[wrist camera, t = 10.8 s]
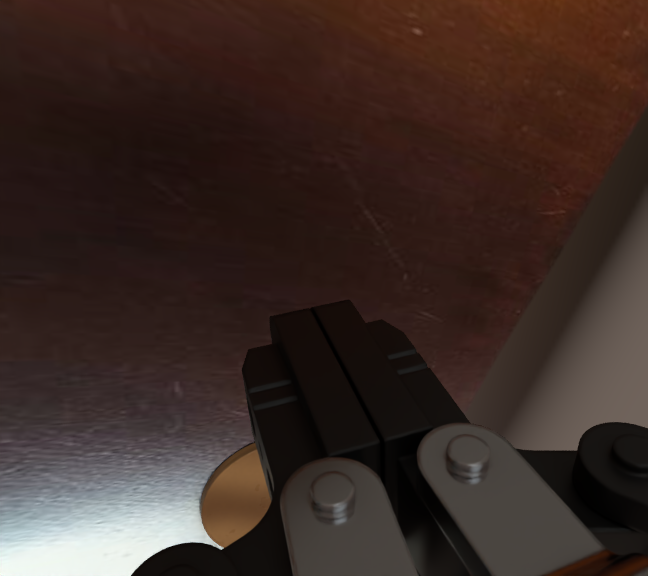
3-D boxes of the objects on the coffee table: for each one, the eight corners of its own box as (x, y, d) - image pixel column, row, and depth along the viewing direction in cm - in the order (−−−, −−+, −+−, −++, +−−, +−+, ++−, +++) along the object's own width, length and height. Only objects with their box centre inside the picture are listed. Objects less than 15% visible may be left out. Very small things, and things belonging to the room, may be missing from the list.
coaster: (186, 459, 31) (188, 467, 30) (347, 416, 33) (351, 423, 33) (213, 564, 36) (215, 572, 35) (353, 520, 38) (356, 528, 37)
